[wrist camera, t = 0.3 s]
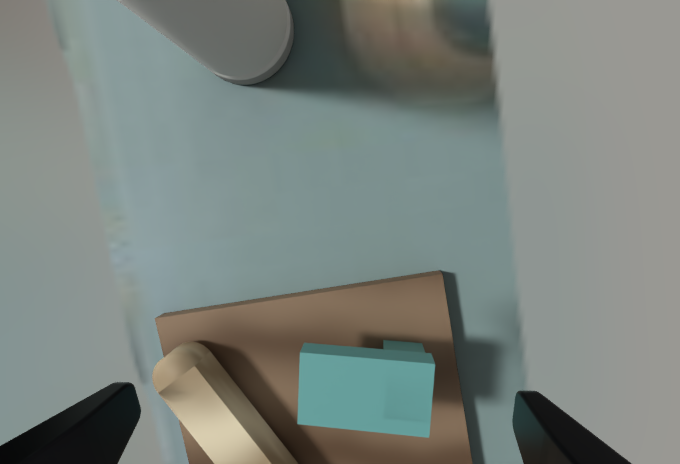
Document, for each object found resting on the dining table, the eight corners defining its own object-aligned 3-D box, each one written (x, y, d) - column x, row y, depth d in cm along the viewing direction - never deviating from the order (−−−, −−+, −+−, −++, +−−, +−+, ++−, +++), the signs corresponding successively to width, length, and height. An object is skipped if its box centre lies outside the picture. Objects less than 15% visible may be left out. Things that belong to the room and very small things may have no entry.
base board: (489, 584, 24) (494, 600, 23) (230, 599, 27) (225, 615, 26) (439, 270, 22) (442, 274, 21) (163, 313, 24) (154, 318, 23)
